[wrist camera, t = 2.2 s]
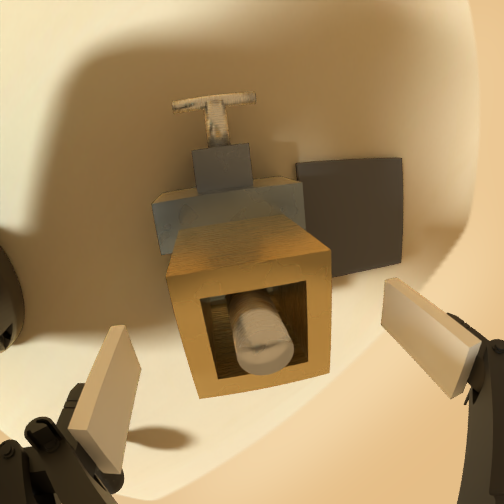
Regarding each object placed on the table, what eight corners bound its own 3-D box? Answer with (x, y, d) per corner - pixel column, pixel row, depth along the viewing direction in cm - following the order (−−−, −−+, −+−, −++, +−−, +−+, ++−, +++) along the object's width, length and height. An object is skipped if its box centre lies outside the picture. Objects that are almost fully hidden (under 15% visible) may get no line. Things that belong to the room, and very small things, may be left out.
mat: (304, 280, 29) (306, 282, 28) (295, 163, 25) (297, 163, 25) (397, 260, 30) (401, 262, 30) (398, 157, 27) (401, 158, 26)
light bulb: (136, 444, 33) (131, 502, 24) (104, 446, 33) (94, 501, 23) (116, 420, 31) (104, 482, 22) (83, 423, 31) (67, 480, 21)
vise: (186, 309, 28) (181, 444, 13) (152, 111, 22) (85, 54, 7) (289, 292, 29) (361, 406, 14) (271, 97, 23) (360, 32, 9)
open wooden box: (197, 322, 22) (199, 398, 14) (178, 229, 19) (165, 276, 12) (290, 305, 23) (329, 372, 15) (283, 214, 20) (331, 250, 13)
